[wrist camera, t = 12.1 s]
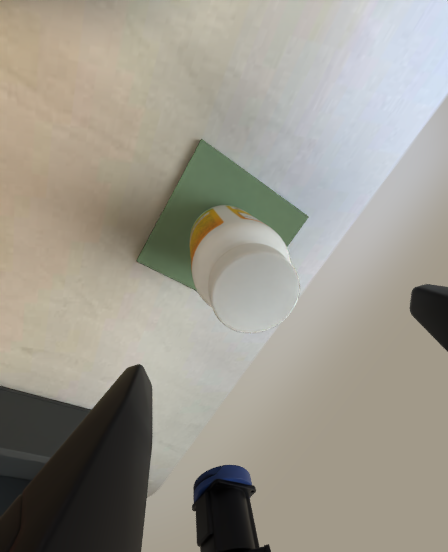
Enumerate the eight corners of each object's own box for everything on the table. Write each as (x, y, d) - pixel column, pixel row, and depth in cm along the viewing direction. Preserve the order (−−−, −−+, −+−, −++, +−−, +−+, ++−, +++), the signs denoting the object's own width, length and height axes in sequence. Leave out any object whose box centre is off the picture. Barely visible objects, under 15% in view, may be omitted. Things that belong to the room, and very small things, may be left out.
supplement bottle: (196, 277, 20) (207, 358, 11) (182, 211, 18) (180, 249, 9) (259, 263, 21) (316, 332, 12) (252, 198, 18) (316, 222, 10)
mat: (306, 215, 20) (308, 216, 20) (240, 310, 23) (240, 312, 22) (201, 139, 17) (201, 138, 16) (137, 259, 19) (136, 261, 19)
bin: (124, 418, 26) (112, 469, 21) (79, 488, 29) (60, 545, 25) (-14, 382, 22) (-64, 435, 17) (-49, 468, 25) (-98, 532, 20)
